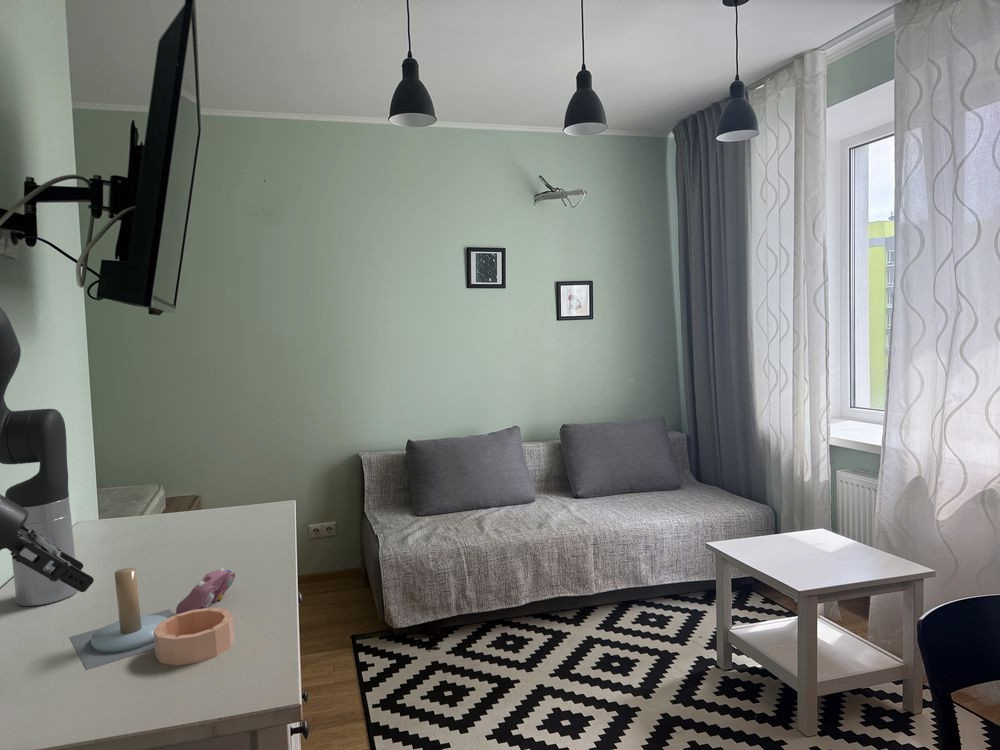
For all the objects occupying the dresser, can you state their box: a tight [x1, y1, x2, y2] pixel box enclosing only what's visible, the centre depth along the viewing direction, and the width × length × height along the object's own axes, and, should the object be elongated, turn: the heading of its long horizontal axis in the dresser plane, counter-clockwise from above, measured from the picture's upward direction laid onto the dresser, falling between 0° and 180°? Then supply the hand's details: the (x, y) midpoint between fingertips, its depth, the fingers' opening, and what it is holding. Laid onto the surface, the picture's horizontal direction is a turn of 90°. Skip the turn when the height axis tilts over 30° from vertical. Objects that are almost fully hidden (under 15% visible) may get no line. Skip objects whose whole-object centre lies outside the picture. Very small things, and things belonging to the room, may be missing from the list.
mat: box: [69, 608, 175, 671], centre depth 104 cm, size 14×14×1 cm
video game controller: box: [175, 567, 236, 615], centre depth 115 cm, size 10×5×7 cm, turn 170°
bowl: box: [153, 607, 236, 666], centre depth 99 cm, size 10×10×4 cm
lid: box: [91, 567, 168, 653], centre depth 104 cm, size 10×10×10 cm
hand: (83, 578), depth 100 cm, fingers open, 8 cm apart
